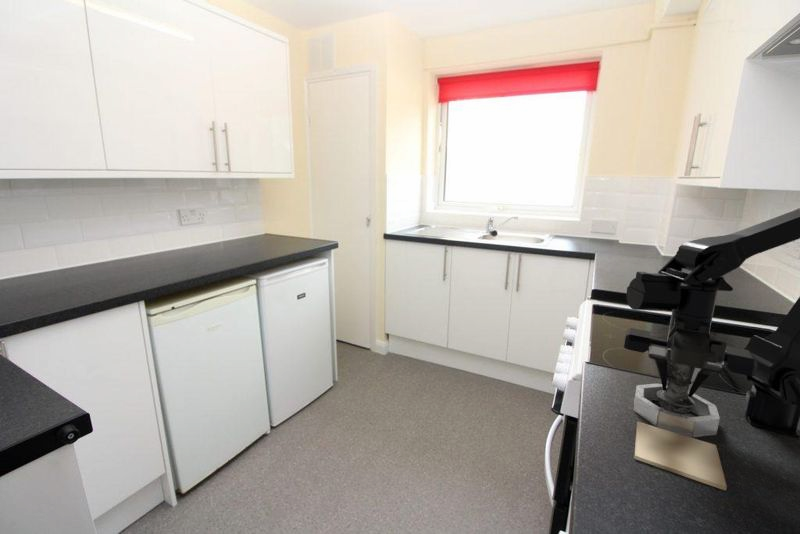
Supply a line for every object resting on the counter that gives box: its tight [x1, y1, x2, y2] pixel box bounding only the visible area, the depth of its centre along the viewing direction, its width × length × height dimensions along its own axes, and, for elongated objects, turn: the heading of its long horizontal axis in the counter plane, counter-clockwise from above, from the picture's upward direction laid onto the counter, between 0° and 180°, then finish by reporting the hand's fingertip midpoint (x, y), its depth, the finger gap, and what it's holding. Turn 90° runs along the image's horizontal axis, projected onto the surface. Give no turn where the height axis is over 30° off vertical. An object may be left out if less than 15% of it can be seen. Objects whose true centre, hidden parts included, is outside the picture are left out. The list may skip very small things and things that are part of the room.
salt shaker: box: [657, 361, 695, 416], centre depth 70 cm, size 6×6×12 cm
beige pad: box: [633, 421, 728, 491], centre depth 60 cm, size 11×11×1 cm
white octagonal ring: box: [633, 383, 721, 438], centre depth 71 cm, size 12×12×3 cm
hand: (676, 392), depth 70 cm, fingers closed on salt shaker, 3 cm apart
